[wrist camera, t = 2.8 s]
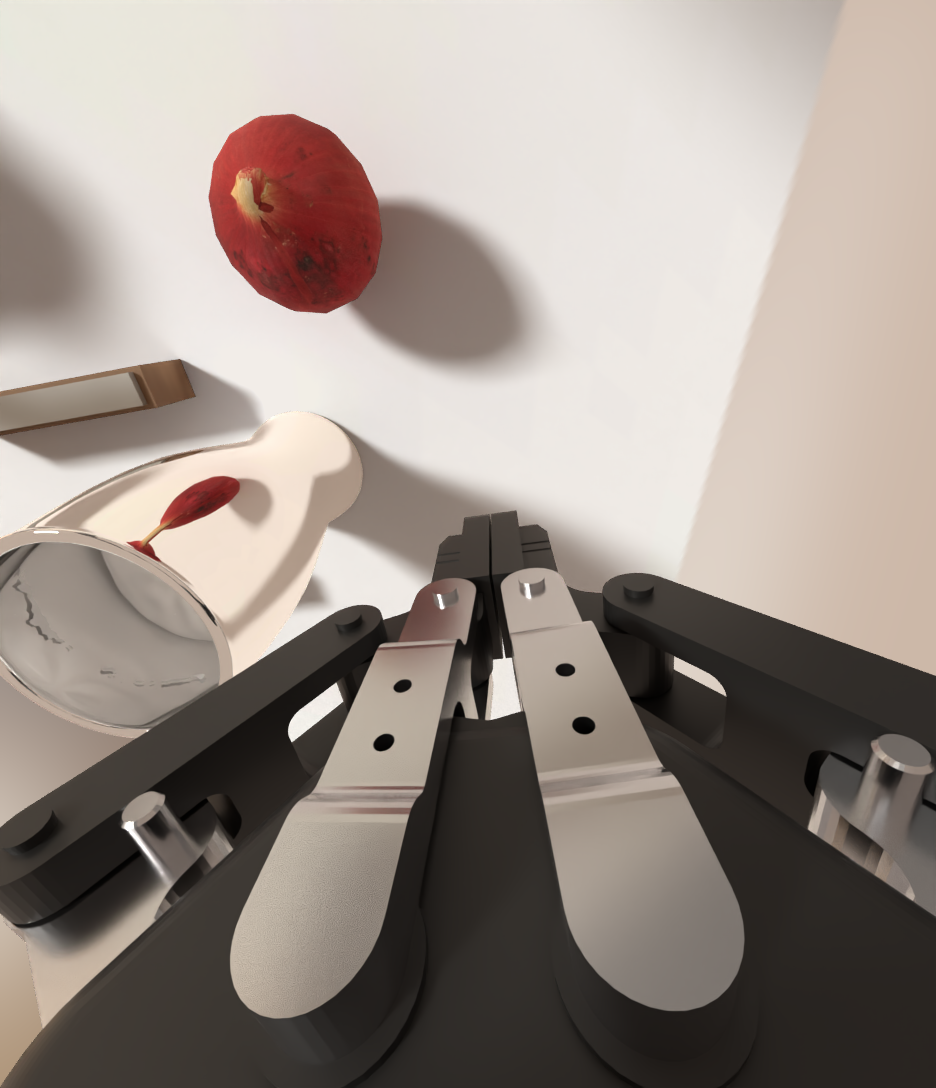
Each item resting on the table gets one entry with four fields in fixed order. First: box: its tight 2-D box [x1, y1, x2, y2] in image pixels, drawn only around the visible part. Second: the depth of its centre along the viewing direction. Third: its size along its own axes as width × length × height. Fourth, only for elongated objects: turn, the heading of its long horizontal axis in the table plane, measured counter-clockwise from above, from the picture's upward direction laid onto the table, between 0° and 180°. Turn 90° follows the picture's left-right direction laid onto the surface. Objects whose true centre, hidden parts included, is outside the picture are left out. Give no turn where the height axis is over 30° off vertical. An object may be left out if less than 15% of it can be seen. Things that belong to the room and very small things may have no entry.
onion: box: [209, 114, 382, 313], centre depth 17 cm, size 6×6×8 cm
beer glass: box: [0, 411, 363, 738], centre depth 18 cm, size 7×7×15 cm
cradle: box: [0, 359, 195, 435], centre depth 25 cm, size 13×12×3 cm
